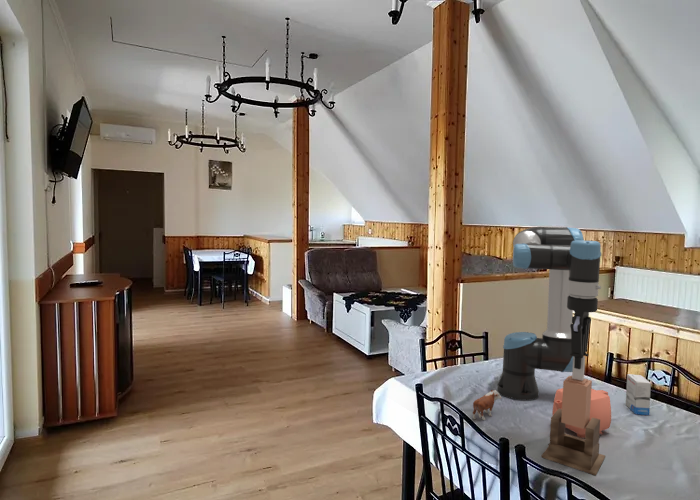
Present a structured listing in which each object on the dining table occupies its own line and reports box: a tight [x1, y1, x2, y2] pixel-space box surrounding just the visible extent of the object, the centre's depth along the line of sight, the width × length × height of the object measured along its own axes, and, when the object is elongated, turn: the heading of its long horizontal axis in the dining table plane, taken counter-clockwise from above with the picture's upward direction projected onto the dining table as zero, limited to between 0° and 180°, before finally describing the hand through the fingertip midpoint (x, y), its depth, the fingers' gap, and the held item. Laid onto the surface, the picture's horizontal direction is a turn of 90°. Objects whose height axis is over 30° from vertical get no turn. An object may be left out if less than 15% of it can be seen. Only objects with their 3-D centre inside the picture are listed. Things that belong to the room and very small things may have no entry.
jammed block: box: [561, 375, 593, 429], centre depth 129 cm, size 6×6×12 cm
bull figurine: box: [472, 389, 502, 421], centre depth 156 cm, size 4×13×8 cm, turn 127°
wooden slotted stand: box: [540, 409, 606, 477], centre depth 130 cm, size 14×12×12 cm
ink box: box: [625, 373, 652, 416], centre depth 163 cm, size 9×5×12 cm, turn 168°
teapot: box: [551, 387, 612, 439], centre depth 147 cm, size 22×13×14 cm, turn 112°
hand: (577, 378), depth 128 cm, fingers closed
